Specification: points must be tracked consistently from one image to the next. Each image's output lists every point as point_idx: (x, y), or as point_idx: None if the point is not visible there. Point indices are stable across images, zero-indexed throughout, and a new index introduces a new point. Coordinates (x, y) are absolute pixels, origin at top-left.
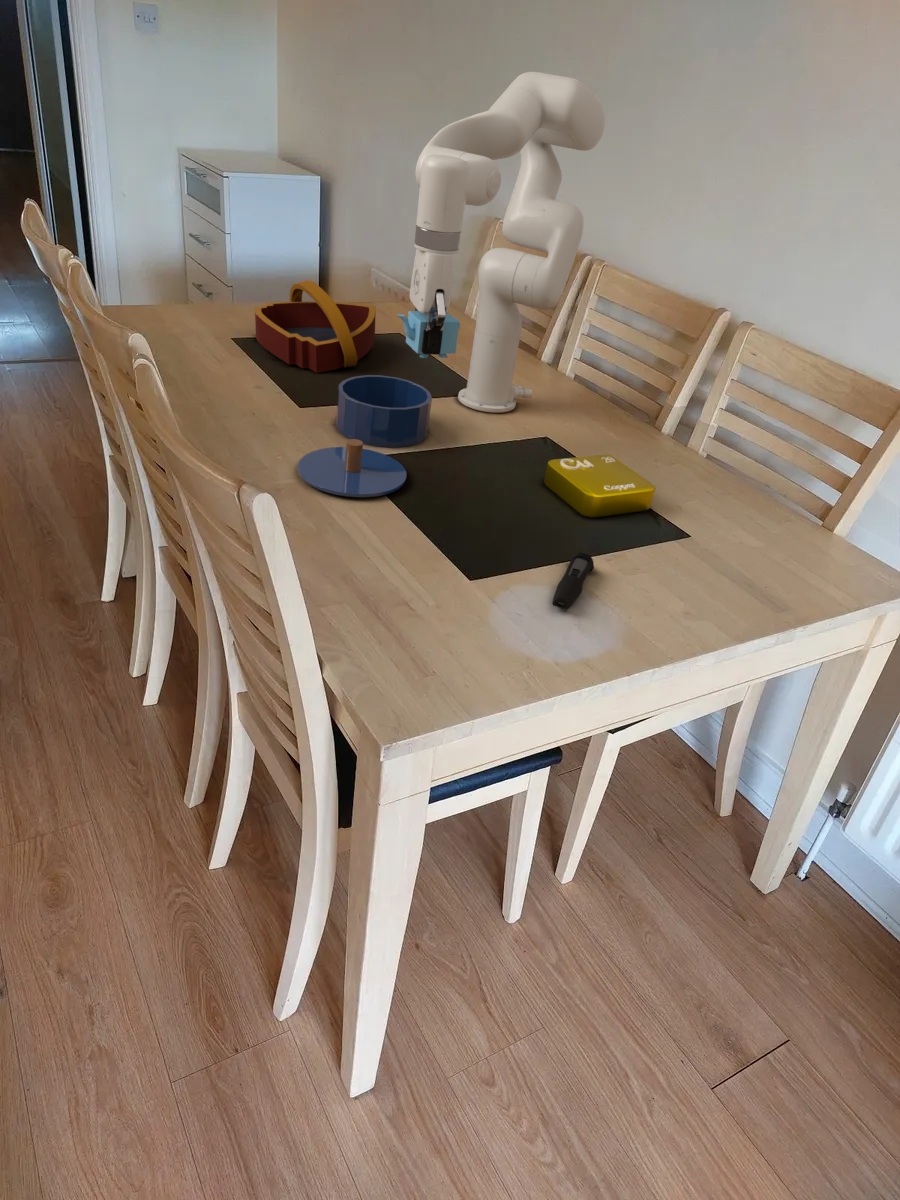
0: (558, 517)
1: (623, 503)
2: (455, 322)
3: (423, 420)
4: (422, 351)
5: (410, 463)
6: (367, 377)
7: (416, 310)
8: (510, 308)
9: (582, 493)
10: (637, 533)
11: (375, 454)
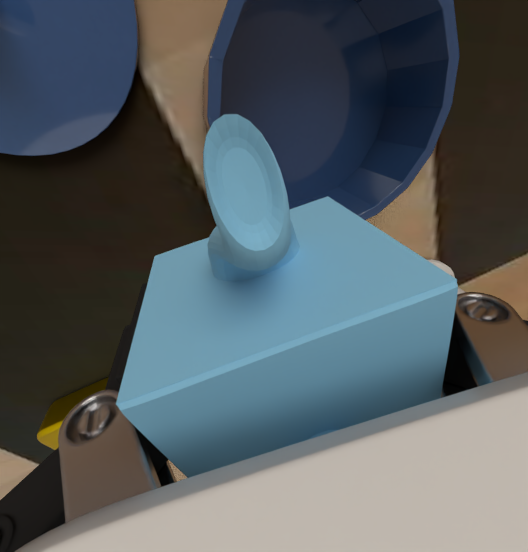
0: (30, 380)
1: None
2: None
3: None
4: (141, 287)
5: (136, 168)
6: (446, 58)
7: (480, 330)
8: None
9: (47, 424)
10: (38, 443)
11: (111, 77)
